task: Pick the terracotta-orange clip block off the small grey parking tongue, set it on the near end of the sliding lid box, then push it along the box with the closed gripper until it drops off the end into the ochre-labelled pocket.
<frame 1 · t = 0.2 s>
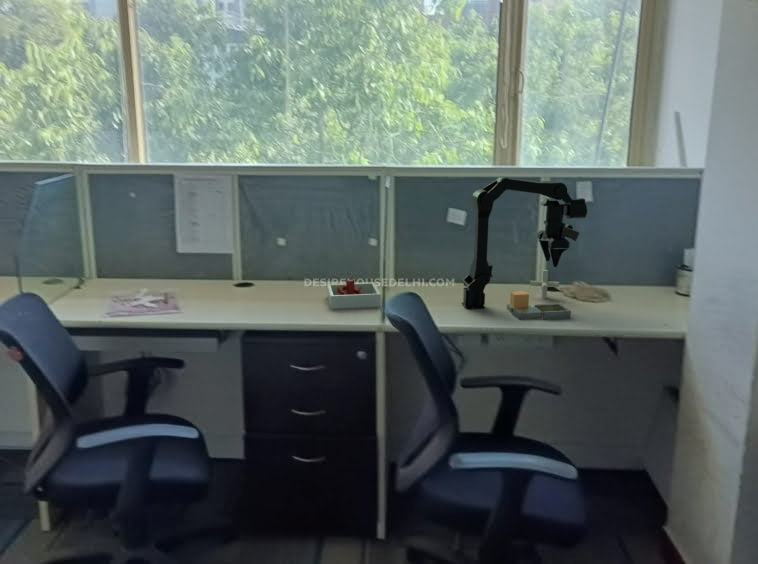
hand: (551, 263, 252), 14 cm above the table, fingers open, 9 cm apart
red branched piece: (354, 302, 258), resting in gear corral
parking tongue: (519, 310, 247), on the table
clip block: (519, 305, 247), point 1 cm above the table, touching parking tongue
pipe connector: (543, 298, 263), on the table
gear corral: (353, 301, 258), on the table
sliding lid box: (540, 315, 241), on the table
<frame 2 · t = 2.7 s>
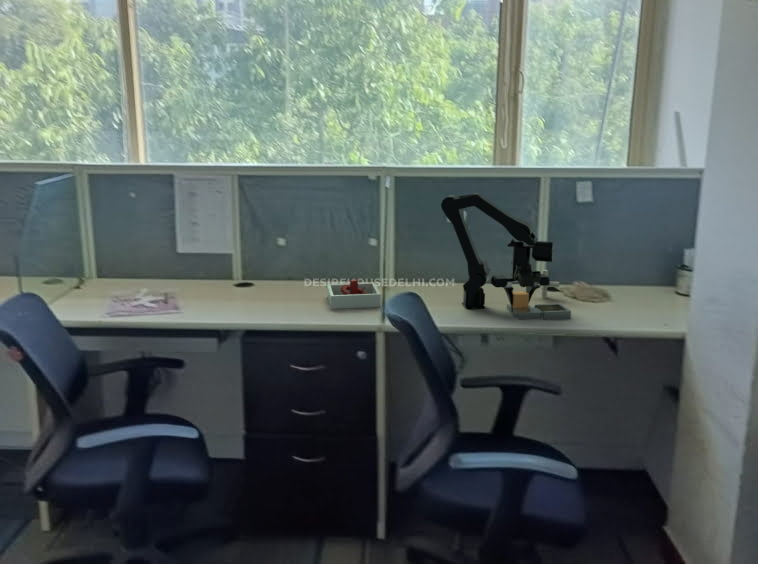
hand: (519, 305, 247), 2 cm above the table, fingers closed on clip block, 5 cm apart
red branched piece: (357, 302, 258), resting in gear corral
clip block: (519, 305, 247), point 1 cm above the table, touching gripper, parking tongue
everything else where it was.
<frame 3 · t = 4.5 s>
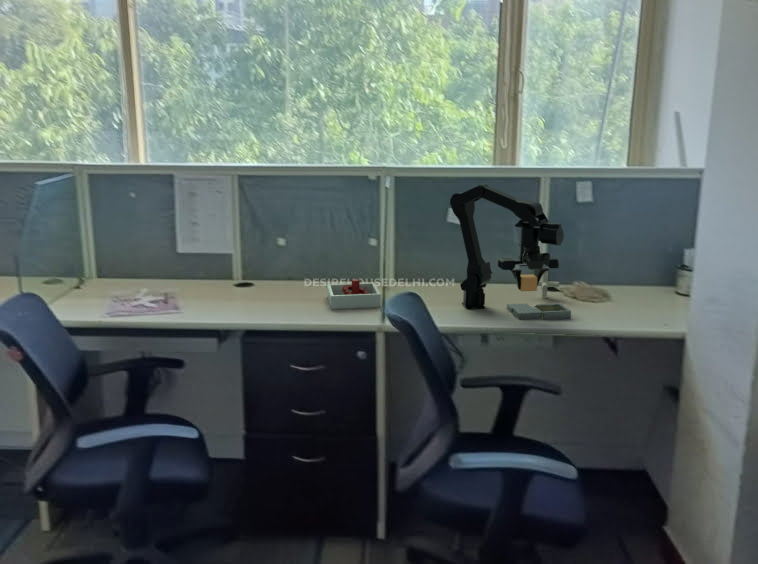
hand: (527, 288, 238), 9 cm above the table, fingers closed on clip block, 5 cm apart
clip block: (527, 289, 238), point 9 cm above the table, touching gripper
when the fingers open (3 cm above the table, at t = 6.3 s): clip block stays where it is, resting on sliding lid box.
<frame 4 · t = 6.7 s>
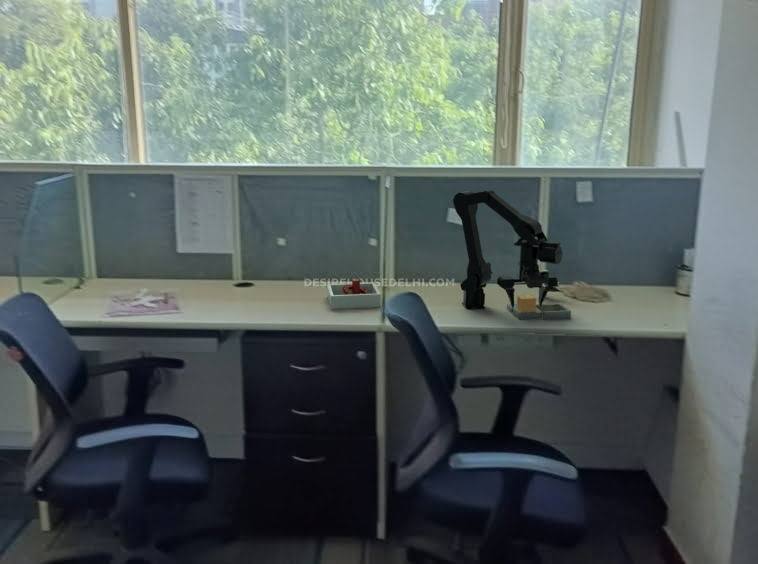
hand: (526, 306, 240), 3 cm above the table, fingers open, 9 cm apart
clip block: (526, 310, 240), point 2 cm above the table, touching sliding lid box
everything else where it was.
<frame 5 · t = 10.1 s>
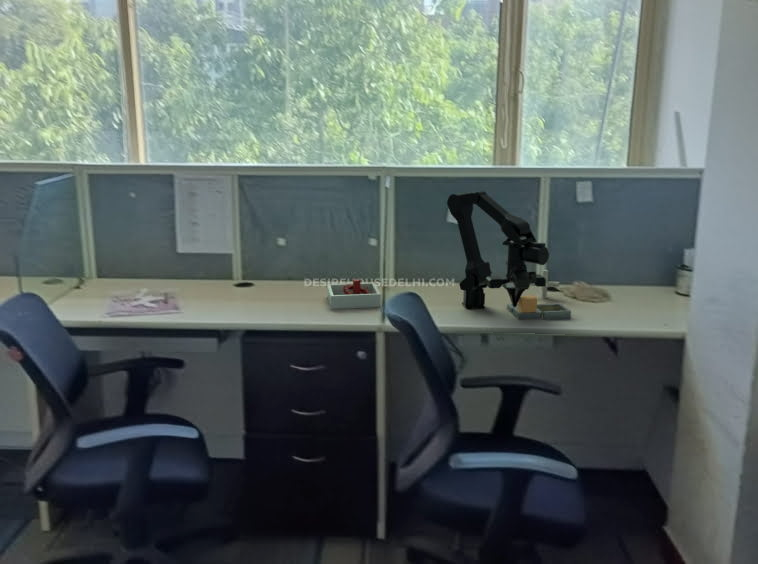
hand: (514, 306, 239), 3 cm above the table, fingers closed
clip block: (527, 310, 240), point 2 cm above the table, touching sliding lid box, gripper
everything else where it was.
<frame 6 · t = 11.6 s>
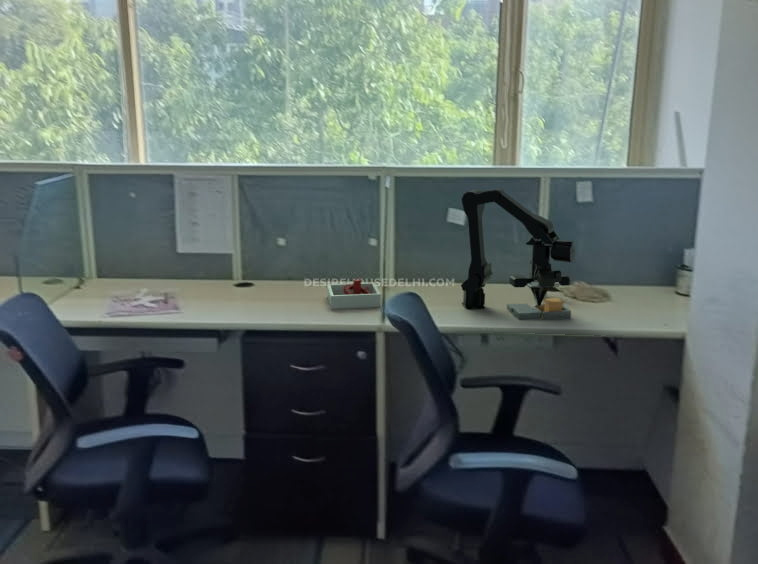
hand: (538, 305, 240), 3 cm above the table, fingers closed
clip block: (546, 307, 241), point 3 cm above the table, tilted 90°, touching sliding lid box
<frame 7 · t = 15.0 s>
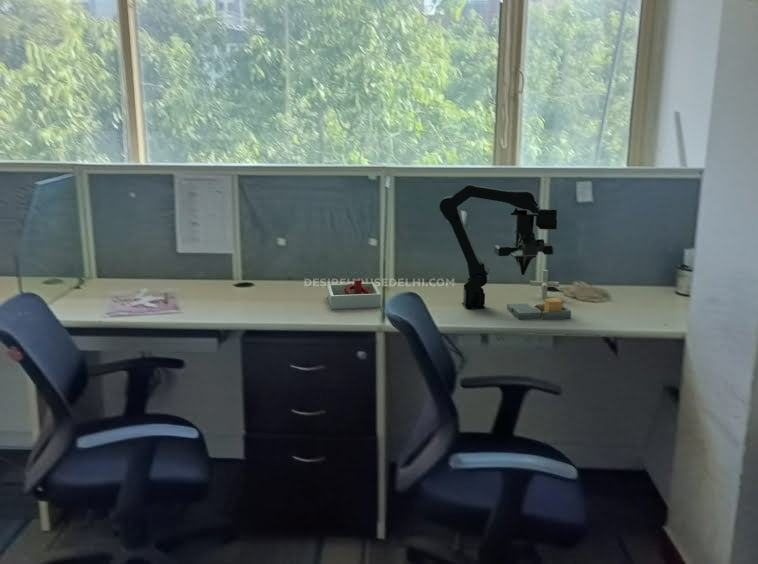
hand: (522, 274, 245), 12 cm above the table, fingers closed
at the end: clip block inside the target area (2.0 cm from its centre), point 2.7 cm above the table; clip block moved 10.0 cm from its start; the gripper is holding nothing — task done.
